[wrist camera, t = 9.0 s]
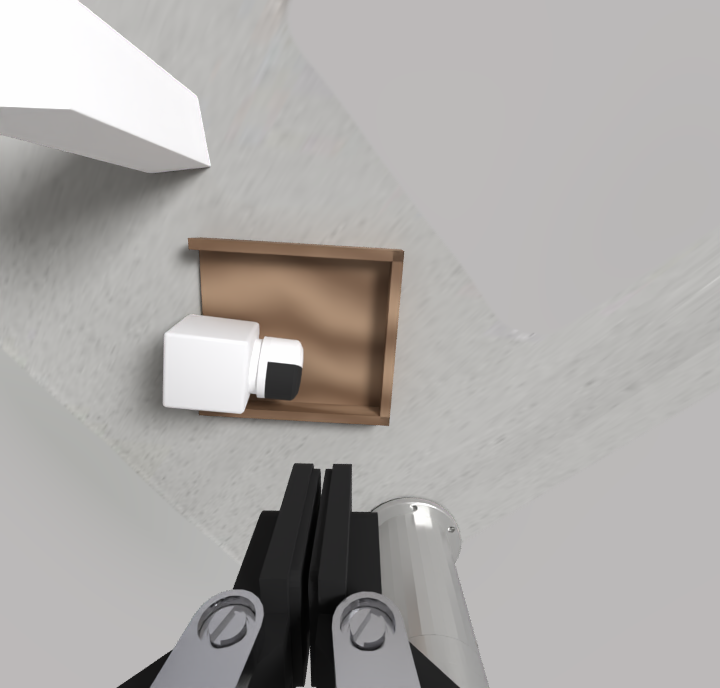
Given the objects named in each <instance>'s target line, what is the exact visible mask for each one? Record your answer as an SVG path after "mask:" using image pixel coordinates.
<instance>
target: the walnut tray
mask: <svg viewBox="0 0 720 688" xmlns="http://www.w3.org/2000/svg"><path fill="white" fill-rule="evenodd" d="M188 246H189V249H192V250H199V258H200V276H201V294H202V312H203V316H211V317H219V318H227V319H235V320H243V321H251V322H257V323H258V324H259V339H264V337H265V336H266V337H275V338H283V339H291V340H298V341H299V342H300V343H301V345H302V347H303V368H302V376H301V383H300V387H299V391H298V394H297V395H296V397H295V398H294V399H293V400H291V401H288V400H278V399H267V398H257V395H256V394H250V396H249V399H248V402H247V405H246V407H245V410H244V412H243V413H242V414H236V413H224V412H213V411H202V410H199V415H204V416H222V417H240V418H258V419H276V420H294V421H312V422H330V423H348V424H366V425H384V426H389V419H390V408H391V396H392V385H393V374H394V362H395V351H396V339H397V328H398V316H399V305H400V294H401V282H402V271H403V259H404V251H403V250H400V249H383V248H367V247H350V246H333V245H317V244H300V243H284V242H267V241H251V240H234V239H217V238H201V237H200V238H188Z"/></svg>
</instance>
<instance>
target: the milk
mask: <svg viewBox="0 0 720 688" xmlns="http://www.w3.org/2000/svg"><path fill="white" fill-rule="evenodd" d="M0 135H4V136H8V137H12V138H16V139H19V140H23V141H27V142H31V143H35V144H39V145H43V146H46V147H50V148H54V149H58V150H62V151H66V152H70V153H73V154H77V155H81V156H85V157H89V158H93V159H96V160H100V161H104V162H108V163H112V164H116V165H120V166H123V167H127V168H131V169H135V170H139V171H143V172H146V173H159V172H168V171H177V170H186V169H195V168H204V167H210V166H211V165H210V159H209V154H208V149H207V144H206V138H205V133H204V128H203V123H202V117H201V112H200V107H199V102H198V97H197V96H196V95H195V94H194V93H193V92H191V91H190V90H189V89H188V88H186V87H185V86H184V85H183V84H181V83H180V82H179V81H178V80H176V79H175V78H174V77H173V76H171V75H170V74H169V73H168V72H166V71H165V70H164V69H163V68H161V67H160V66H159V65H158V64H156V63H155V62H154V61H153V60H151V59H150V58H149V57H148V56H146V55H145V54H144V53H143V52H142V51H140V50H139V49H138V48H137V47H135V46H134V45H133V44H132V43H130V42H129V41H128V40H127V39H125V38H124V37H123V36H122V35H120V34H119V33H118V32H117V31H115V30H114V29H113V28H112V27H110V26H109V25H108V24H107V23H105V22H104V21H103V20H102V19H100V18H99V17H98V16H97V15H95V14H94V13H93V12H92V11H90V10H89V9H88V8H87V7H85V6H84V5H83V4H82V3H80V2H79V1H78V0H0Z"/></svg>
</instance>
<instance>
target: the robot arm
mask: <svg viewBox="0 0 720 688" xmlns="http://www.w3.org/2000/svg"><path fill="white" fill-rule="evenodd" d="M460 550H461V536H460V532H459V529H458V526H457V523H456V522H455V520H454V518H453V517H452V516H451V514H450V513H449V512H448V511H447V510H446V509H444V508H443V507H441V506H440V505H438V504H436V503H434V502H432V501H429V500H425V499H421V498H400V499H396V500H392V501H389V502H387V503H384V504H382V505H381V506H379V507H378V508H376V509H375V510H373V511H372V512H352V464H333V469H326V470H325V476H324V483H323V489H322V495H321V471H320V469H314V465H313V464H302V463H295V464H294V465H293V469H292V472H291V475H290V478H289V482H288V485H287V488H286V492H285V495H284V498H283V502H282V505H281V508H280V511H262V512H261V514H260V517H259V519H258V522H257V525H256V527H255V530H254V533H253V536H252V538H251V541H250V544H249V547H248V549H247V552H246V555H245V557H244V560H243V563H242V566H241V568H240V571H239V574H238V576H237V579H236V582H235V585H234V588H233V590H229V591H225V592H221V593H220V594H217V595H215V596H213V597H212V598H210V599H209V600H208V601H206V602H205V603H204V604H203V605H202V606H201V607H200V608H199V610H198V611H197V612H196V613H195V614H194V616H193V618H192V619H191V621H190V623H189V624H188V626H187V628H186V629H185V631H184V633H183V634H182V636H181V637H180V639H179V641H178V642H177V644H176V646H175V647H174V649H173V650H171V651H170V652H168V653H167V654H165V655H164V656H162V657H161V658H160V659H158V660H157V661H155V662H154V663H152V664H151V665H149V666H148V667H147V668H145V669H144V670H142V671H141V672H139V673H138V674H136V675H135V676H133V677H132V678H130V679H129V680H127V681H126V682H124V683H123V684H121V685H120V686H119V687H117V688H296V687H304V685H305V679H306V672H307V663H308V656H309V649H310V658H311V659H310V660H311V686H312V687H316V688H489V685H488V681H487V677H486V674H485V671H484V667H483V663H482V660H481V656H480V653H479V649H478V645H477V642H476V638H475V634H474V631H473V627H472V624H471V620H470V616H469V613H468V609H467V605H466V602H465V598H464V595H463V591H462V587H461V584H460V580H459V577H458V573H457V569H456V566H455V562H456V561H457V559H458V557H459V554H460Z"/></svg>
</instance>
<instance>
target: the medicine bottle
mask: <svg viewBox="0 0 720 688" xmlns="http://www.w3.org/2000/svg"><path fill="white" fill-rule="evenodd" d="M302 368H303V347H302V345H301V343H300V342H299V341H298V340H291V339H283V338H275V337H266V336H265V337H264V339H259V324H258V323H257V322H251V321H243V320H235V319H227V318H219V317H211V316H203V315H195V314H189V315H187V316H186V317H185V318H183V319H182V320H181V321H180V322H178V323H177V324H176V325H174V326H173V327H172V328H171V329H169V330H168V331H167V332H165V333H164V352H163V406H164V407H167V408H179V409H190V410H202V411H213V412H224V413H236V414H242V413H243V412H244V410H245V407H246V405H247V402H248V399H249V396H250V394H256V395H257V398H267V399H278V400H288V401H291V400H293V399H294V398H295V397H296V395H297V394H298V391H299V387H300V383H301V376H302Z"/></svg>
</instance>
